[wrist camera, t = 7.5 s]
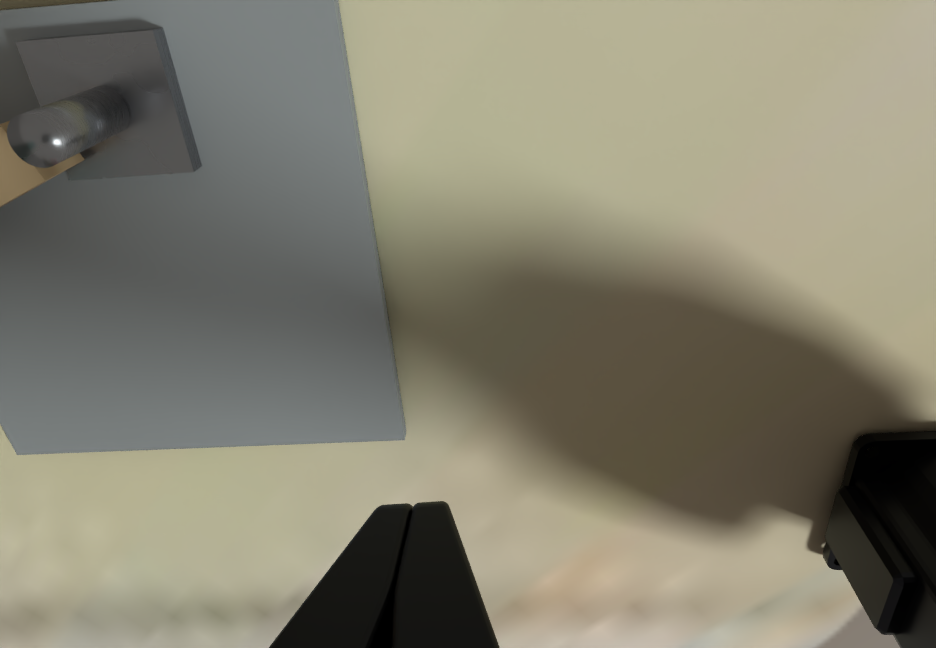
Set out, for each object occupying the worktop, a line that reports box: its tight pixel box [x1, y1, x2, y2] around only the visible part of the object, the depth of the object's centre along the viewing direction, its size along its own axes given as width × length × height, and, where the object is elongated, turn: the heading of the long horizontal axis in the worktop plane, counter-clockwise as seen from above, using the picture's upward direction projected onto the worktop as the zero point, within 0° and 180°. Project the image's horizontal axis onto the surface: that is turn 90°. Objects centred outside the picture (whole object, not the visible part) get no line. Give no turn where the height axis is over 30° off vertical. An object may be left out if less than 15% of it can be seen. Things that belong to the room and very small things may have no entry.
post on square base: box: [7, 28, 202, 181], centre depth 16 cm, size 4×4×4 cm
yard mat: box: [0, 0, 406, 455], centre depth 20 cm, size 14×14×1 cm
